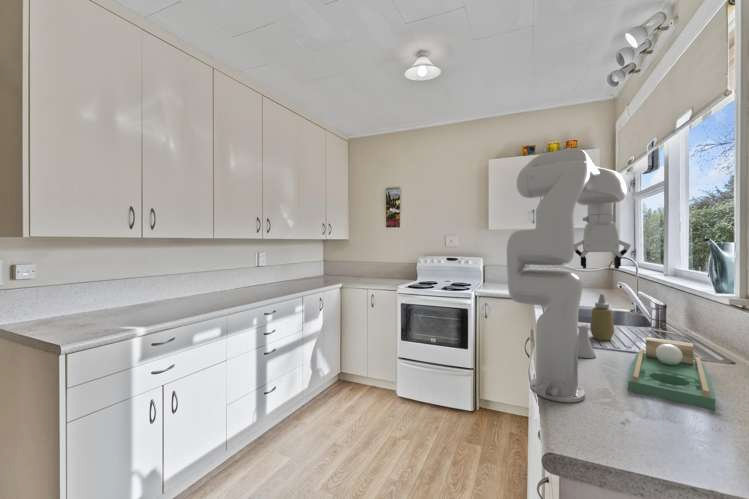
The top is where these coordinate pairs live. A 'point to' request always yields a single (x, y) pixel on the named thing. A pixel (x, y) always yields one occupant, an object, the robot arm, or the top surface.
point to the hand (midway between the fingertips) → (600, 268)
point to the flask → (584, 343)
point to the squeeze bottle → (602, 320)
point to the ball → (669, 354)
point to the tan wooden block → (684, 347)
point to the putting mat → (672, 380)
